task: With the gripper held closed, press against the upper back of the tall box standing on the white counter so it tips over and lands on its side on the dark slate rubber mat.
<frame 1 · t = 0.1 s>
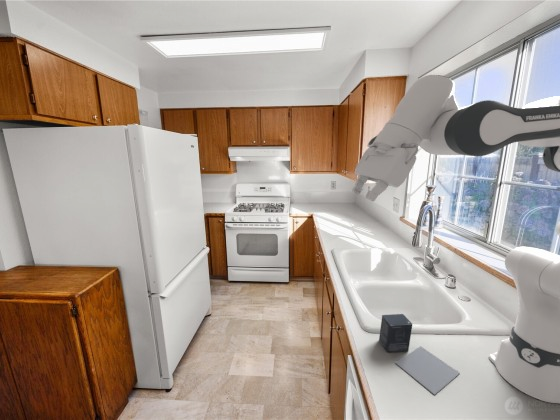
hand: (361, 196, 59), 54 cm above the counter, tool tilted 30°, fingers open, 8 cm apart
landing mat: (426, 368, 75), on the counter
box: (393, 346, 84), on the counter
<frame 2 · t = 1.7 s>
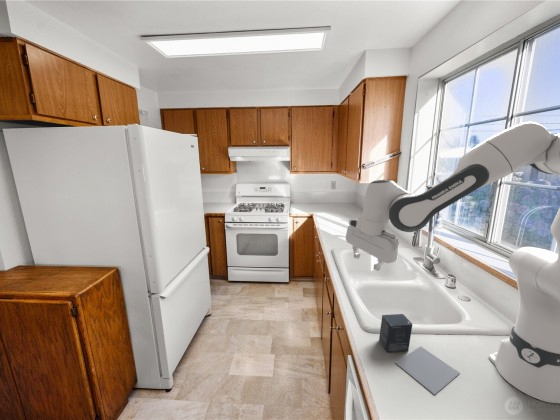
hand: (366, 263, 86), 27 cm above the counter, tool pointing down, fingers open, 8 cm apart
nothing on the counter moved.
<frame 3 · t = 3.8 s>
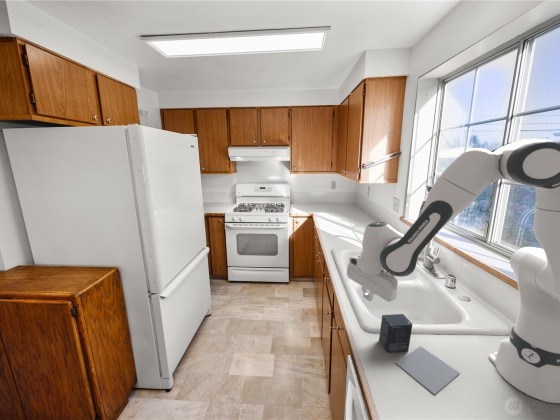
hand: (367, 298, 92), 11 cm above the counter, tool pointing down, fingers closed
nothing on the counter moved.
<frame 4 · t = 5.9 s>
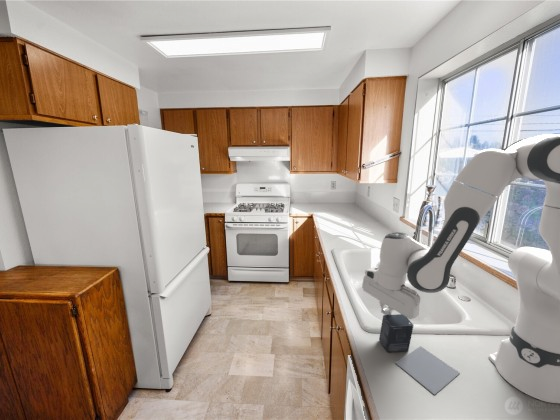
hand: (385, 314, 86), 9 cm above the counter, tool pointing down, fingers closed
box: (393, 345, 84), on the counter, touching gripper
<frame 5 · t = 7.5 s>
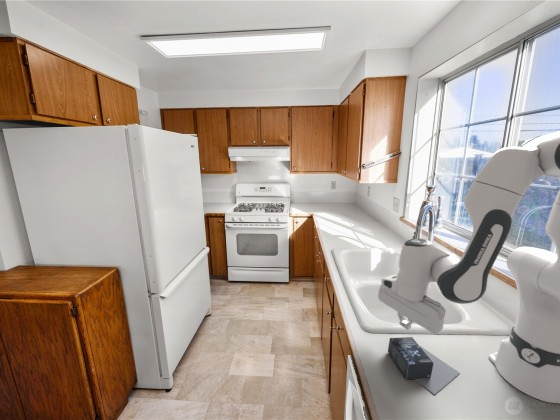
hand: (404, 326, 80), 10 cm above the counter, tool pointing down, fingers closed
box: (399, 343, 81), point 3 cm above the counter, touching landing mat
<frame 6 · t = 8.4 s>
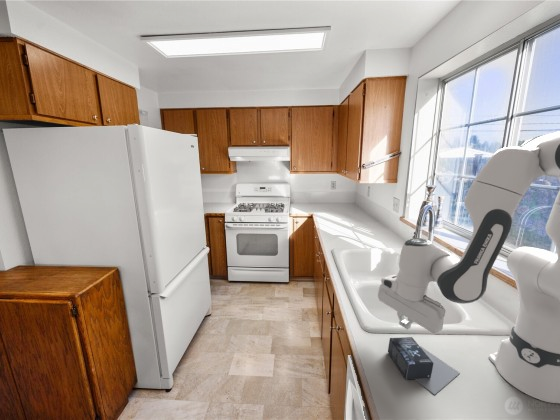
hand: (404, 326, 79), 10 cm above the counter, tool pointing down, fingers closed
nothing on the counter moved.
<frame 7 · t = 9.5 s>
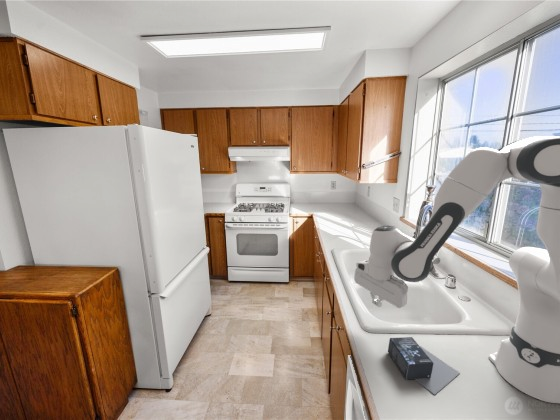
hand: (376, 304, 89), 11 cm above the counter, tool pointing down, fingers closed
nothing on the counter moved.
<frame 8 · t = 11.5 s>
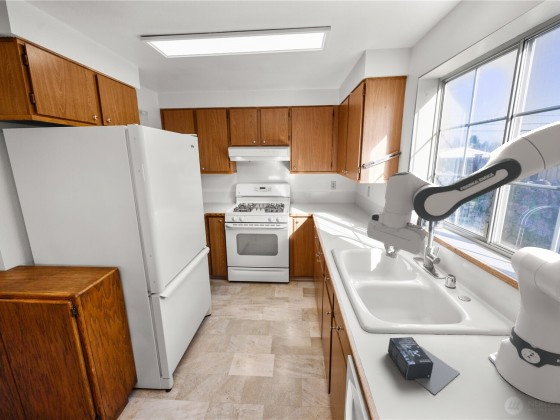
hand: (390, 256, 86), 29 cm above the counter, tool pointing down, fingers closed
nothing on the counter moved.
at the end: box tilted 91°; box touching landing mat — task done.
